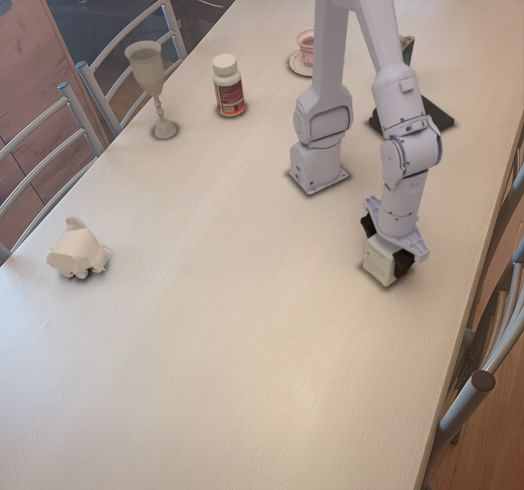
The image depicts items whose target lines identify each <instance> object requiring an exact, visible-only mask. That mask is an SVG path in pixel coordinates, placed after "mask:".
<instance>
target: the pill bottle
mask: <svg viewBox="0 0 524 490" xmlns="http://www.w3.org/2000/svg"><path fill="white" fill-rule="evenodd" d="M212 70H213V74H212V82H213V88H214V93H215V99H216V104H217V109H218V112H219V114H220V115H222V116H224V117H228V118H229V117H230V118H231V117H236V116H239V115H241V114H242V113H244V111H245V97H244V88H243V81H242V74H241V71H240V69H239V68H238V61H237V57H236V55H234V54H231V53H222V54H218V55H216V56H214V58H213V59H212Z"/></svg>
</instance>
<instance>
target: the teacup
mask: <svg viewBox="0 0 524 490" xmlns="http://www.w3.org/2000/svg"><path fill="white" fill-rule="evenodd" d="M295 38H296V42H297V45H298V46H299V48H300V50H297V51H295V52H294V53H293V54H292V55H291V56H290V58H289V63H288V65H289V67H290V69H291V70H292V71H293V72H295V74H298V75H301V76H305V77H312V70H313V44H314V26H310V27H309V26H308V27H305V28H303V29H301V30H299V31H298V32H297V34H296V37H295Z"/></svg>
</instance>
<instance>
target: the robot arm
mask: <svg viewBox="0 0 524 490" xmlns="http://www.w3.org/2000/svg"><path fill="white" fill-rule="evenodd" d="M350 11H351V12H353V13H355V16H356V19H357V21H358V22H357V23H358V24H359V28H360V30H361V33H362V36H363V40H364V43H365V45H366V48H367V51H368V54H369V57H370V59H371V62H372V65H373V68H374V72H375V77H374V80H373V82H372V84H371V88H370V89H371V93H372V97H373V101H374V105H375V107H376V109H377V113H378V116H379V120H380V124H381V128H382V132H383V135H384V136H383V139H384V142H383V143H382V144H381V145H380V146H379V147H380V148H379V150H380V151H379V152H380V153H379V154H380V160H381V166H382V168H381V179H382V181H383V186H382V193H381V198H378V197H376V195H374V194H372V195H370V196H368V197H366V198H364V199H363V201H362V209H363V210H364V211H365V212H367V213H366V215H364V216H362V217H361V218H360V221H359V222H360V225H361V226H362V228H363V230H364V233H365V236H366V240H367V239H369V238H370V237H372V236H373V235H375V234H376V233H378V234H379V235H380V236H381V237H382V238H384V239H386V240H388V241H390V242H392V243H394V244H396V245H397V246H399V247H401V248H403V249H401V250H399V251H397V252H395V253H393V254H392V256H393V258H394V261H395V270H394V276H395V278H396V279H397V280H398V279H400V278H402V277H404V276H405V275H407V273H408V272H409V271H410V270H411V268H412V266H413V265H414V264H415V263H416V264H422V263H423V262H425V261H426V260H428V259H429V258H430V253H431V249H430V248H429V247H428V246H427V244H426V242H425V240H424V238H423V236H422V234H421V232H420V229H419V227H418V225H417V222H418V221H419V220H420V215H418V213H419V209H420V205H421V202H422V198H423V194H424V190H425V187H426V182H427V179H428V175H429V170H430V169H432V168H433V167H435V166H438V165H439V164H440V163H441V161H442V158H443V154H444V145H443V138H442V134H441V131H440V132H439V130H438V128H437V127H436V125H435V124H434V123H433V121H432V118H431V117H430V115H427V116H425V115H426V114H425V110H424V106H423V102H422V98H421V89H420V87H419V81H418V77H417V73H416V70H415V69H414V68H413V67H411V66H410V67H409V66H407V65H406V64H405V63H404V62H403V56H402V50H401V44H400V38H401V37H399V35H400V32H399V26H398V19H397V12H396V8H395V1H394V0H314V18H313V20H314V23H313V27H314V44H313V70H312V76H311V84H310V85H309V86H308V87H307V88H306V89H305V90H304V91H303V92H302V93H300V95H298V96H297V97H296V100H295V102H296V103H295V109H294V111H293V115H292V122H293V128H294V131H295V135H296V137H297V139H298V141H297V142H296V143H294V144H293V145H292V146H291V147H290V149H289V156H290V157H289V158H290V159H289V160H290V170H289V171H288V174H289V175H290V176H291V178H292V179H293V181H295V182H296V183H297V184H298V185H299V186H300V187H301V188H302V189H303V191H304V192H305V193H306V194H307V195H309V196H311V195H313V194H316V193H319V192H320V191H321V190H325V189H326V188H328V187H331V186H333V185H334V184H337V183H338V182H340V181H343V180H345V179H347V178H348V177H349V173H348V172H347V171H346V170H345V169H343V168H342V166H341V155H342V154H341V153H342V141H343V140H342V139H343V138H345V137H346V133H347V132H346V131H349V130H351V128H352V126H353V124H354V109H353V96H352V94H351V92H350V90H349V89H348V87H347V86H346V85H344V83H343V75H344V67H345V57H346V44H347V34H348V26H349V13H350ZM410 267H411V268H410ZM409 269H410V270H409ZM408 270H409V271H408Z"/></svg>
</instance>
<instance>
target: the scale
mask: <svg viewBox="0 0 524 490" xmlns="http://www.w3.org/2000/svg"><path fill="white" fill-rule="evenodd" d="M421 98H422V102H423V106H424V110H425V114H426V115H425V116H427V115H430V117H431V118H432V121H433V123H434V124H435V125H436V127H437V128H438V130H439V132H440V133H441V132H442V131H444V130H446V129H448V128H451V127H453V126H454V124H455V119H454V118H453V117H452V116H451V115H449V114H448V113H447V112H445V111H444V110H443V109H441V107H439V106H437V105H436V104H435V103H434V102H432V101H431V100H430V99H428V98H427V97H425V96H424V95H423V94H421ZM368 124H369V126H370V127H372V128H373V129H374V130H375V131H377V133H379V134H380V135H381V136H382V137H384V135H383V132H382V128H381V124H380V120H379V116H378V113H377V109H376V106H375V107H374V109H373V110H372V113H371V117H369V118H368Z"/></svg>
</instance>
